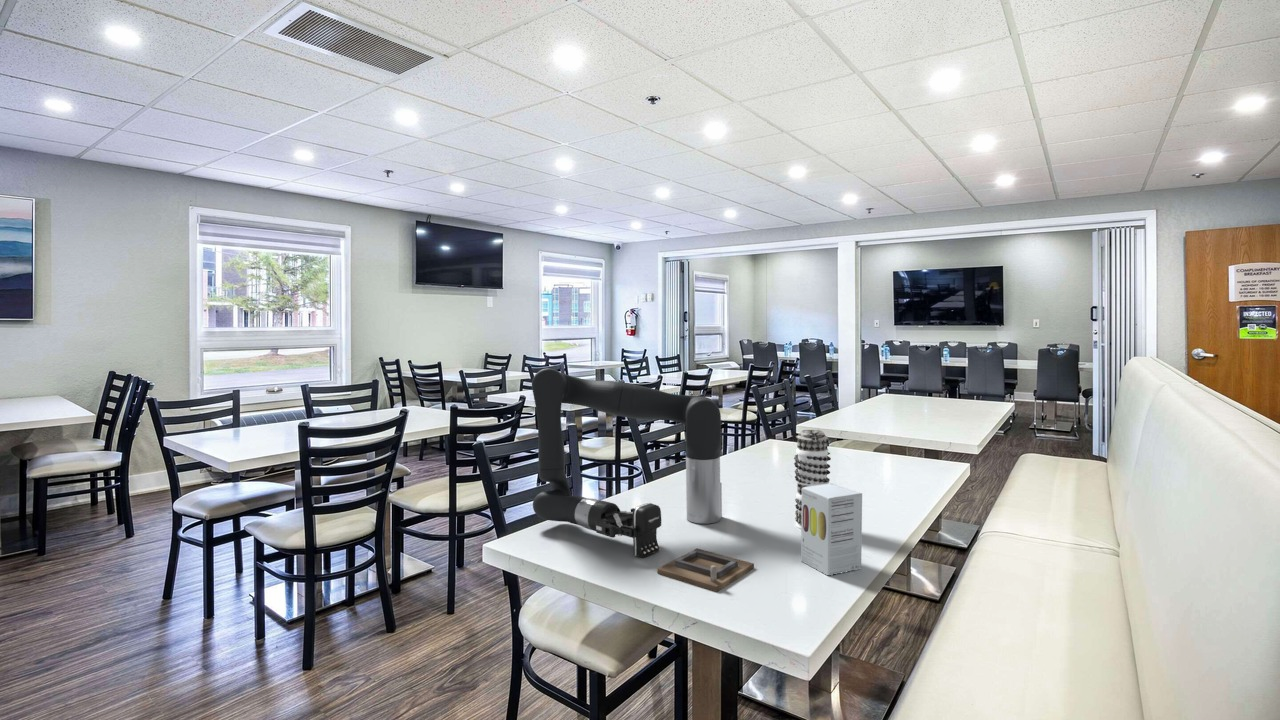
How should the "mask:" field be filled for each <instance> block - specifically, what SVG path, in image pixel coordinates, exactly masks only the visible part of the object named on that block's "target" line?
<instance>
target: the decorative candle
mask: <svg viewBox="0 0 1280 720" xmlns="http://www.w3.org/2000/svg"><path fill="white" fill-rule="evenodd" d="M795 437H796V439H797V441H796V443H797V444H796V445H797V447H796V454H795V455H794V458H793V459H794V463H793V464H794V467H795V469H794V473H795V476H794V479H795V480H794V481H795V483H797V484H796V485H797V486H796V487H797V491H796V498H795V503H796V504H795V505H794V506H795V509H796V510H795V513H794V514H795V518H794V519H795V527H796V528H798V529H800V530H801V523H802V488H803V487H809V486H816V485H824V484H830V478H828V475H829V474H831V471H830V470H828V469H829V468H831V465H830V464H829V463H828V462H829V461H831V460H832V458H831V456H829V455H831V452H829V449H828V439H829V437H828V436H827V435H826V434H825V432H823V431H822V430H819V429H818V430H817V429H804V430H802V431H800V432H799V433H798V435H795Z"/></svg>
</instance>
